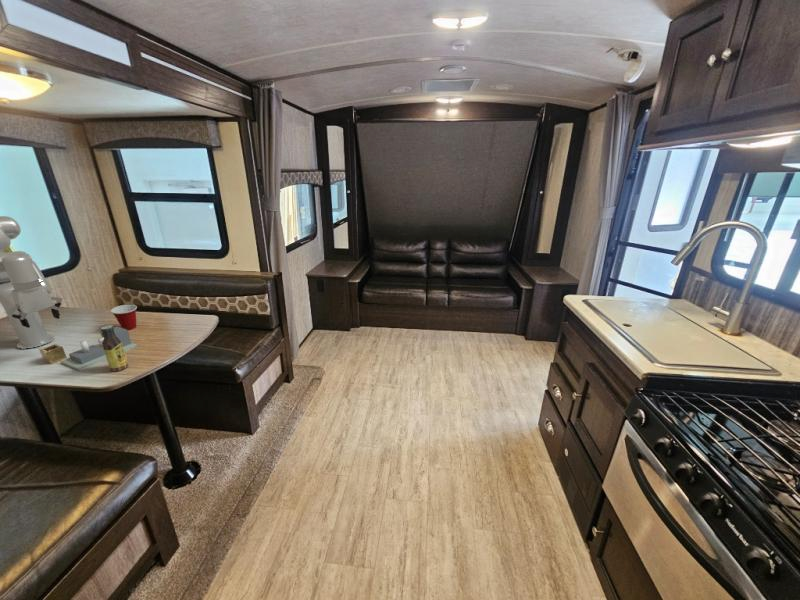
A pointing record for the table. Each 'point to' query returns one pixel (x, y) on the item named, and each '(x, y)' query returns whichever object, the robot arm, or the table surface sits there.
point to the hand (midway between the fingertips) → (42, 322)
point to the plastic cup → (126, 316)
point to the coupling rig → (96, 351)
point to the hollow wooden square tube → (53, 353)
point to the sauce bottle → (113, 349)
